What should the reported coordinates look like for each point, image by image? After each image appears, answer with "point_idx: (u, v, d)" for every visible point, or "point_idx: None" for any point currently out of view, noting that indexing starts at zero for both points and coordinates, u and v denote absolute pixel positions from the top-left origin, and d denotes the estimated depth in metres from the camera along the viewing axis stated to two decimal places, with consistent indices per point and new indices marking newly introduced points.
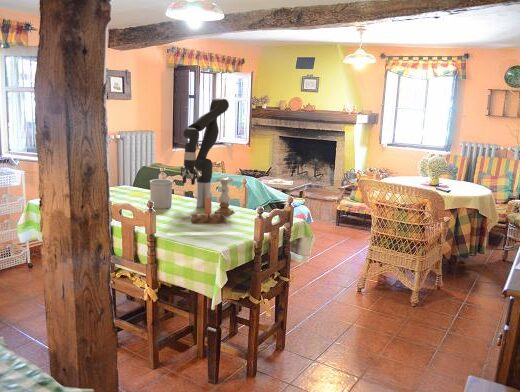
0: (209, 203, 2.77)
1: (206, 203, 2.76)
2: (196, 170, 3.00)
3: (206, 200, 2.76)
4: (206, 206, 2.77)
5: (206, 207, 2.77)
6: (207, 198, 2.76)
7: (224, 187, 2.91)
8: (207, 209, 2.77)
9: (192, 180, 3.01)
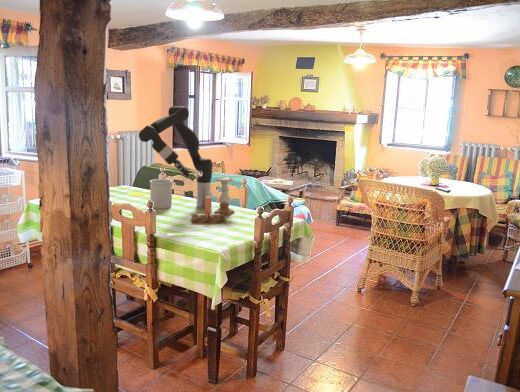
0: (209, 203, 2.77)
1: (206, 203, 2.76)
2: (177, 164, 2.62)
3: (206, 200, 2.76)
4: (206, 206, 2.77)
5: (206, 207, 2.77)
6: (207, 198, 2.76)
7: (224, 187, 2.91)
8: (207, 209, 2.77)
9: (184, 173, 2.66)
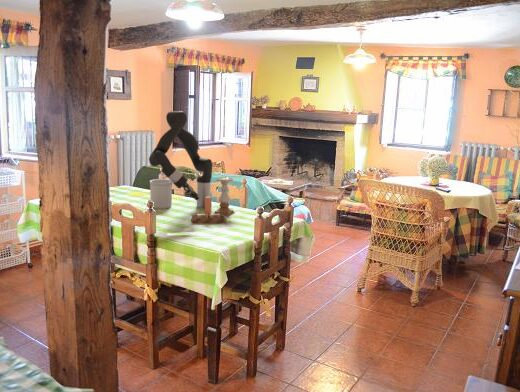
0: (209, 203, 2.77)
1: (206, 203, 2.76)
2: (186, 188, 2.66)
3: (206, 200, 2.76)
4: (206, 206, 2.77)
5: (206, 207, 2.77)
6: (207, 198, 2.76)
7: (224, 187, 2.91)
8: (207, 209, 2.77)
9: (193, 197, 2.70)
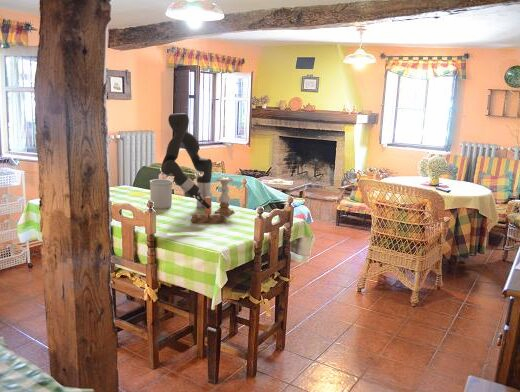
0: (209, 203, 2.77)
1: None
2: (198, 197, 2.68)
3: (206, 200, 2.76)
4: None
5: None
6: (207, 198, 2.76)
7: (224, 187, 2.91)
8: (207, 209, 2.77)
9: (205, 205, 2.72)
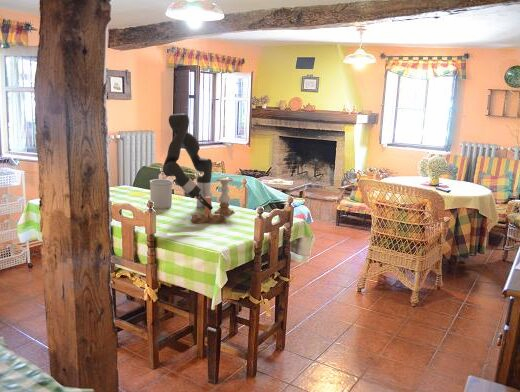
0: (209, 203, 2.77)
1: None
2: (202, 200, 2.70)
3: (206, 200, 2.76)
4: None
5: (206, 207, 2.77)
6: (207, 198, 2.76)
7: (224, 187, 2.91)
8: (207, 209, 2.77)
9: (207, 206, 2.76)
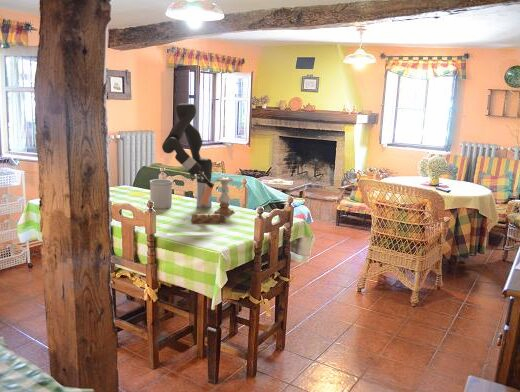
0: (210, 188, 2.75)
1: (207, 187, 2.74)
2: (202, 177, 2.67)
3: None
4: (206, 190, 2.75)
5: (206, 191, 2.75)
6: None
7: (224, 187, 2.91)
8: (206, 193, 2.75)
9: (207, 184, 2.74)
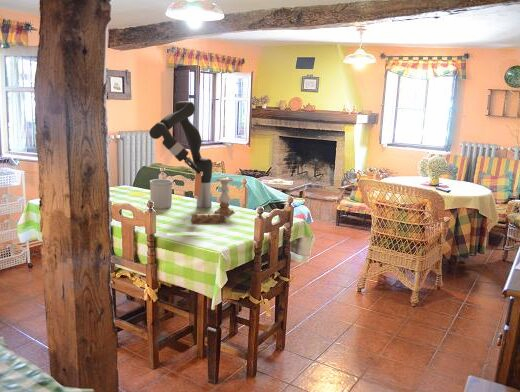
0: (199, 179, 2.75)
1: (196, 178, 2.74)
2: (190, 163, 2.67)
3: (196, 175, 2.74)
4: (196, 181, 2.75)
5: (196, 182, 2.75)
6: (197, 173, 2.74)
7: (224, 187, 2.91)
8: (197, 185, 2.75)
9: (195, 170, 2.73)
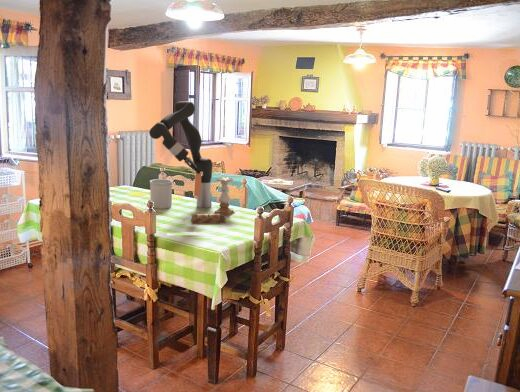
0: (199, 179, 2.75)
1: (196, 178, 2.74)
2: (190, 163, 2.67)
3: (196, 175, 2.74)
4: (196, 181, 2.75)
5: (196, 182, 2.75)
6: (197, 173, 2.74)
7: (224, 187, 2.91)
8: (197, 185, 2.75)
9: (195, 170, 2.73)
